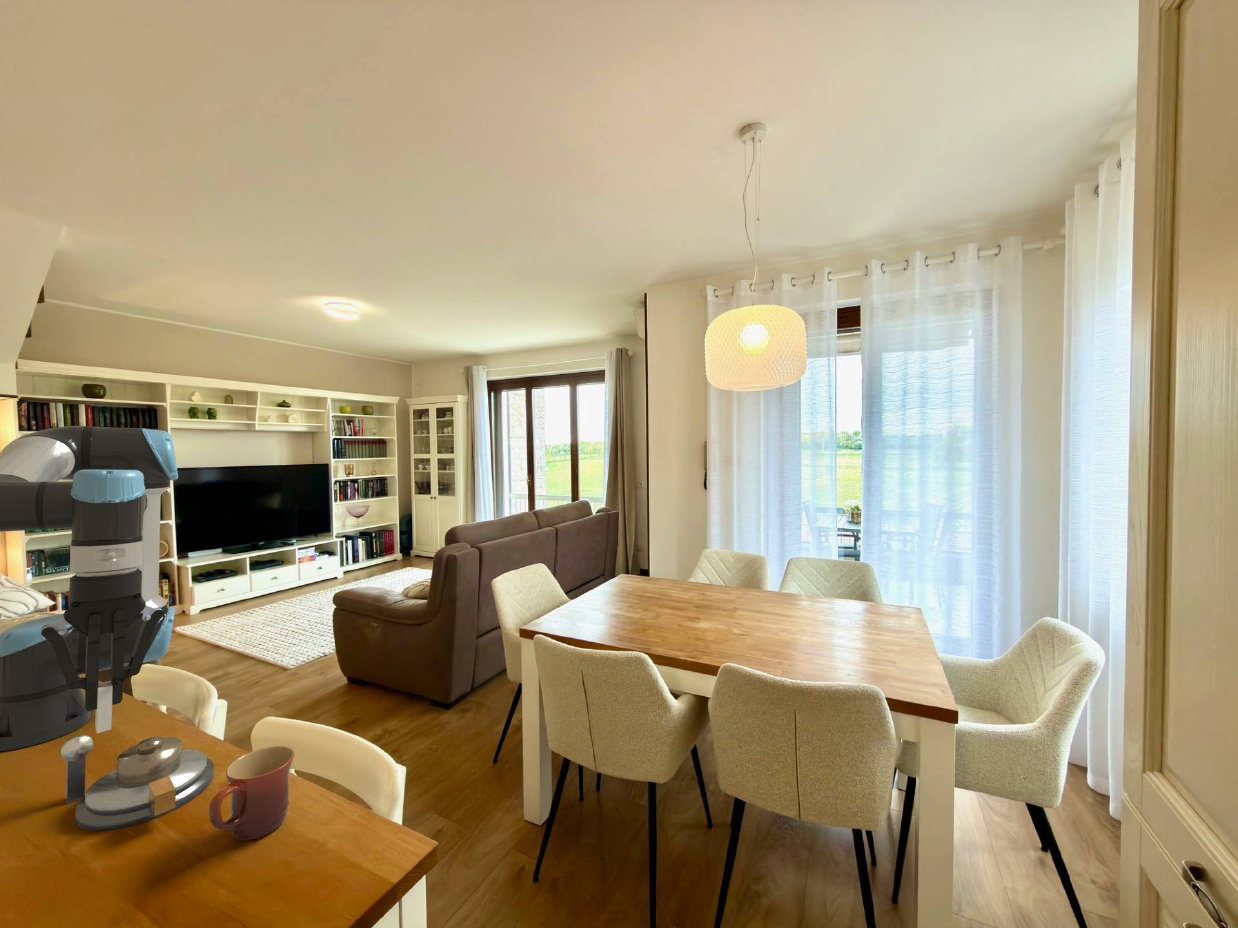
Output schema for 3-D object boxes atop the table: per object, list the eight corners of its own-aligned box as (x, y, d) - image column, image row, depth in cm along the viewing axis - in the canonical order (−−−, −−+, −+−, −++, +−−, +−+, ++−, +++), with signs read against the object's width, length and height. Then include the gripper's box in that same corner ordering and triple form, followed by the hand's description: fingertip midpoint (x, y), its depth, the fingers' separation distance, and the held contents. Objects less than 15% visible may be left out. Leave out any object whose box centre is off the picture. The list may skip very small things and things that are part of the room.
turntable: (80, 787, 82) (80, 764, 82) (195, 747, 94) (195, 728, 94) (94, 845, 70) (95, 819, 70) (225, 791, 82) (225, 769, 82)
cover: (112, 774, 83) (113, 742, 83) (175, 753, 90) (175, 723, 90) (120, 794, 78) (121, 760, 78) (185, 770, 85) (186, 739, 85)
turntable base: (70, 798, 82) (70, 789, 82) (200, 752, 95) (200, 745, 95) (80, 848, 71) (81, 838, 71) (225, 789, 85) (225, 780, 85)
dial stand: (58, 801, 81) (60, 736, 81) (90, 790, 84) (91, 728, 84) (59, 808, 79) (61, 743, 79) (92, 797, 82) (93, 733, 82)
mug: (262, 802, 82) (263, 742, 82) (306, 811, 80) (307, 749, 80) (185, 859, 70) (187, 788, 70) (235, 870, 68) (237, 797, 68)
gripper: (40, 582, 66) (35, 757, 65) (170, 567, 76) (166, 719, 75) (39, 574, 70) (35, 737, 70) (161, 562, 81) (158, 704, 80)
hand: (103, 728), depth 73 cm, fingers closed
